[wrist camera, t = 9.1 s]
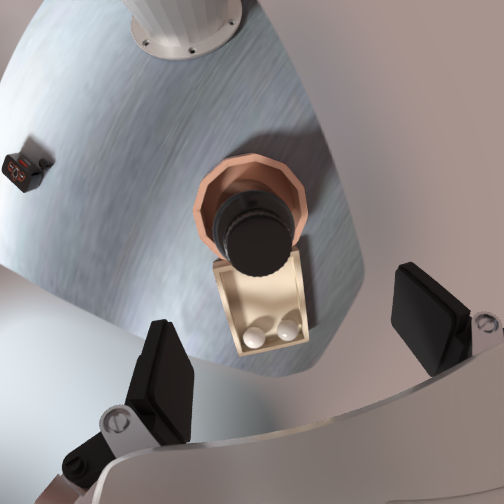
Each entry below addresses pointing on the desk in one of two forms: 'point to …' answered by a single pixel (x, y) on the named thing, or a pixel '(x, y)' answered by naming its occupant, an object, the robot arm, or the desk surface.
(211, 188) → the bowl
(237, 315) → the tray
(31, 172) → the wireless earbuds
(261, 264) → the supplement bottle
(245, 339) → the pebble
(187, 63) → the desk surface
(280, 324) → the pebble
